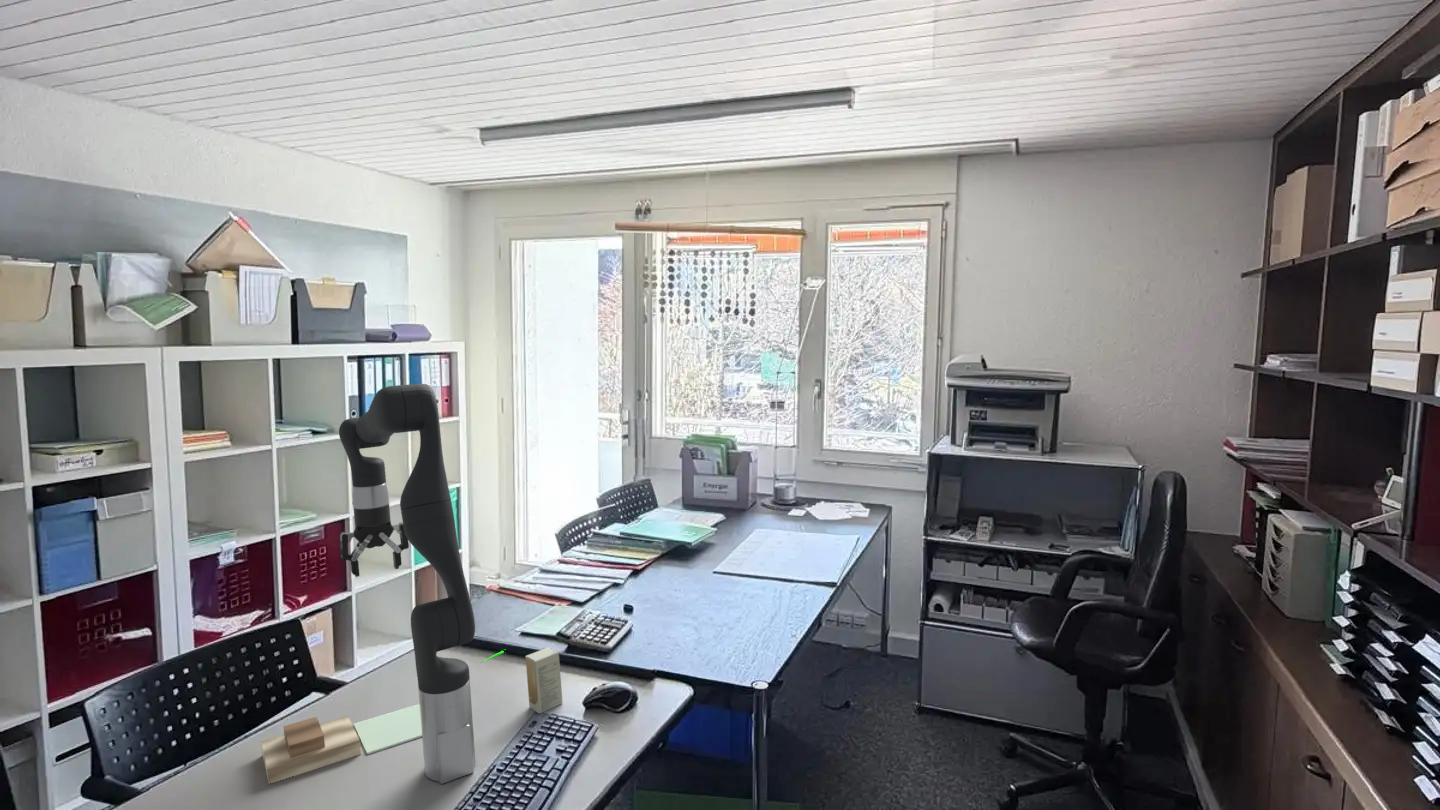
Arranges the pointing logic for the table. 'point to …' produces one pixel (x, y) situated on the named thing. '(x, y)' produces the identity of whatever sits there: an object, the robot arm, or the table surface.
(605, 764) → the table surface
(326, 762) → the beige ridged block
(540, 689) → the skincare box
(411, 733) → the mat
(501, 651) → the pen
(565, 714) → the table surface
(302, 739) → the brown wooden block
